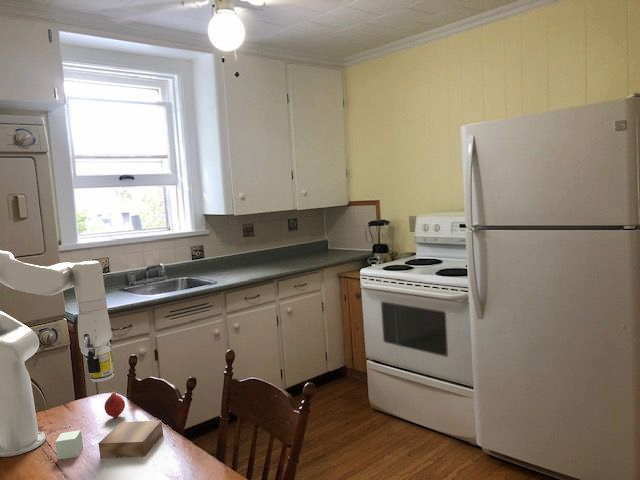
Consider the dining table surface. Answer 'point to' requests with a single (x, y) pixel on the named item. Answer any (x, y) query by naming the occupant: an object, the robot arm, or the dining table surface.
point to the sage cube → (69, 444)
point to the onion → (114, 405)
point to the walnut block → (131, 439)
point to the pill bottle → (103, 364)
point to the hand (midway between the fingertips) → (101, 367)
